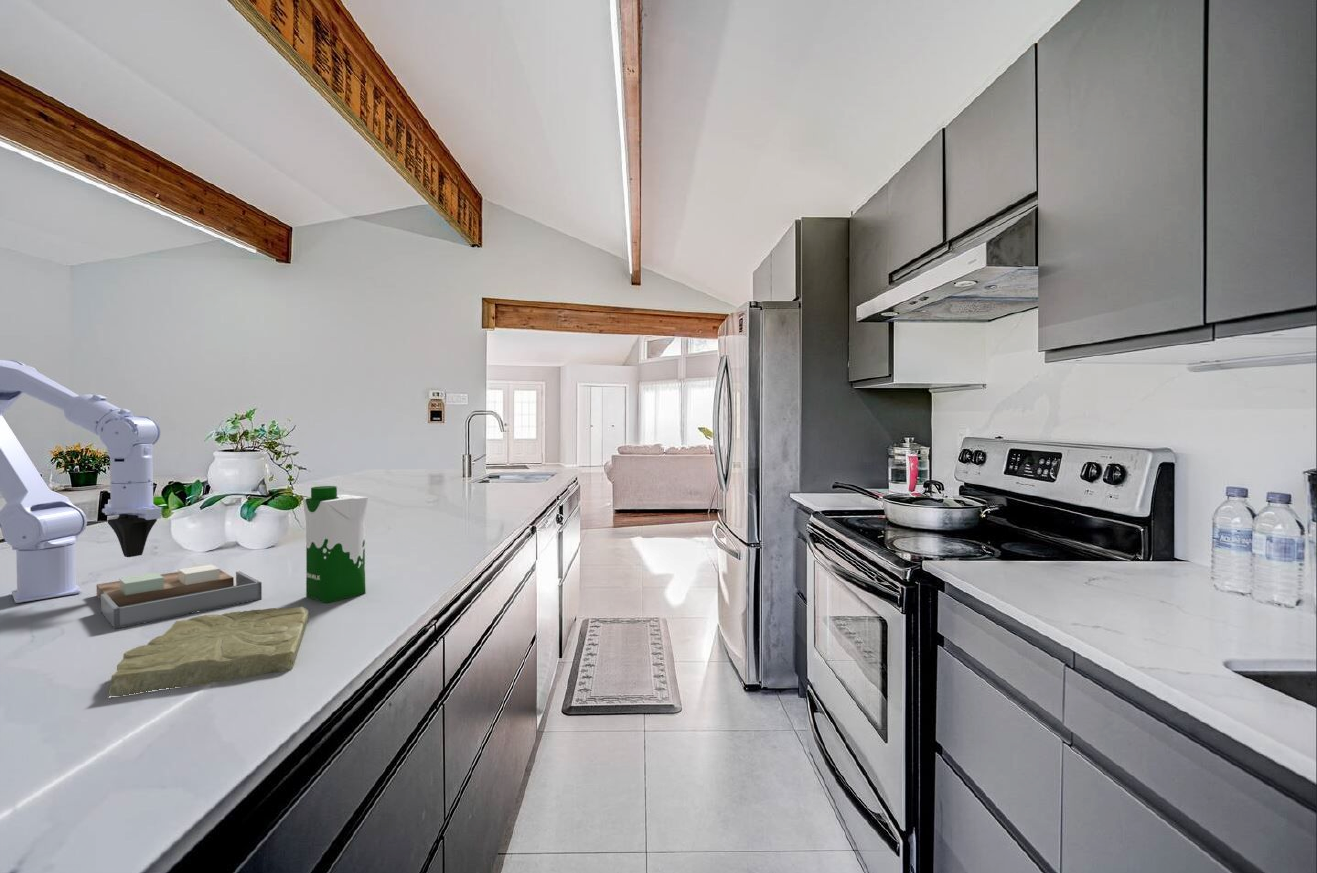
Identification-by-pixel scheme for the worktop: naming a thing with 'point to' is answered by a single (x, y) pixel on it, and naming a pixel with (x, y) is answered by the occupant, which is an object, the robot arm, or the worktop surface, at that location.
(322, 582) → the milk carton
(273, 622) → the decorative tile
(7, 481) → the robot arm
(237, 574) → the box
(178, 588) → the walnut plate
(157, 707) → the worktop surface
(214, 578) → the cream tile
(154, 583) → the sage tile
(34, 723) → the worktop surface
